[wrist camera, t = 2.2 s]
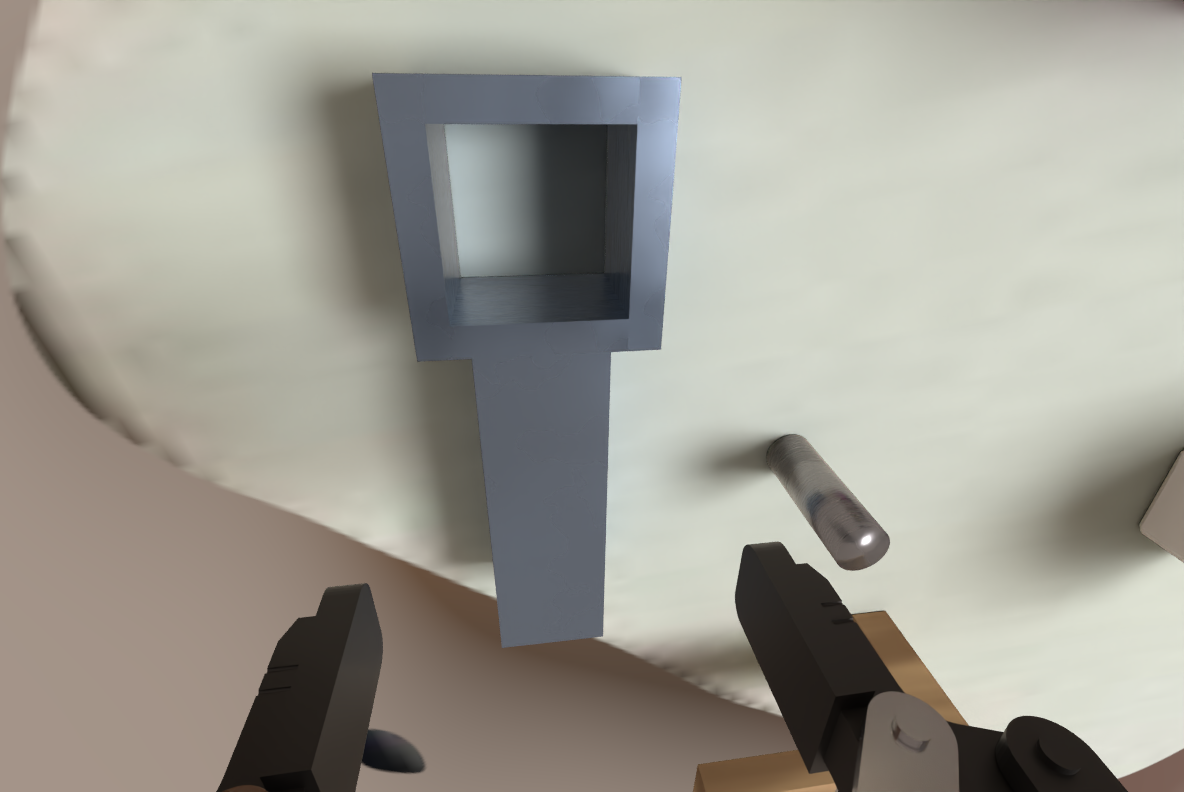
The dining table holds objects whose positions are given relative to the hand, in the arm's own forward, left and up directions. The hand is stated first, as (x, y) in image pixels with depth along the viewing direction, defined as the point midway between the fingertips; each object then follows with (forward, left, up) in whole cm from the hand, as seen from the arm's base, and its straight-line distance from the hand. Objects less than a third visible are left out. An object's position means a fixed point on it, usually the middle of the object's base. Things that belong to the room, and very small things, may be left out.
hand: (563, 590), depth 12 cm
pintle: (+5, +11, -11) cm, 16 cm away
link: (0, 0, -11) cm, 11 cm away
